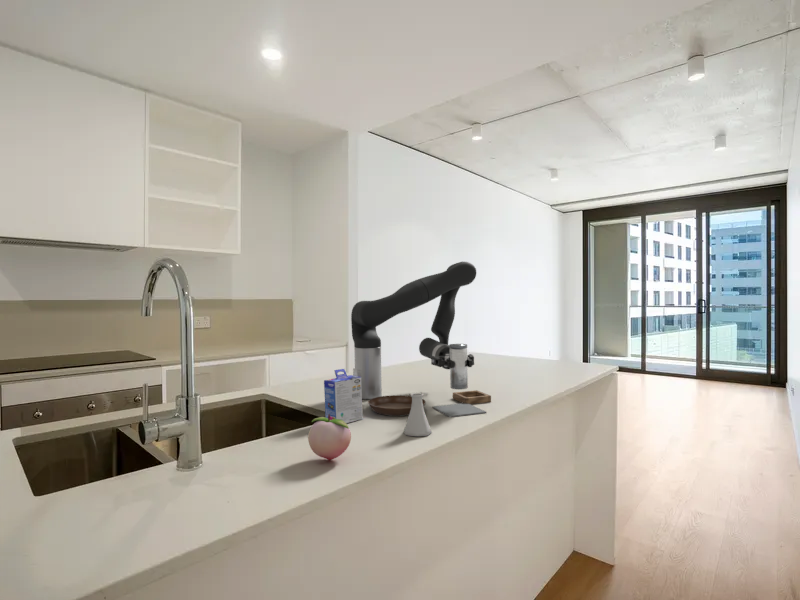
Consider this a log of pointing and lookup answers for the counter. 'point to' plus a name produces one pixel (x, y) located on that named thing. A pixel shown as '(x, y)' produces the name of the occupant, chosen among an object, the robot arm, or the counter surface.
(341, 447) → the decorative fruit
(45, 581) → the counter surface
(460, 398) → the pocket frame
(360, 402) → the ink cartridge box
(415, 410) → the flask
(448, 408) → the rubber mat
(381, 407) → the plant saucer
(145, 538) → the counter surface
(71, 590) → the counter surface
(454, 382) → the canister
